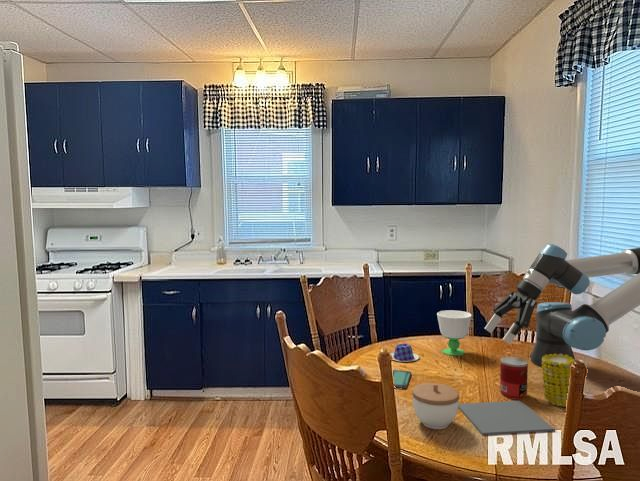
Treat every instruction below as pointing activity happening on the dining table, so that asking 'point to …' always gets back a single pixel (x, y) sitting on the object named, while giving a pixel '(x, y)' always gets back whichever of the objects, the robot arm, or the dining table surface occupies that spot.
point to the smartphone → (401, 378)
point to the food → (556, 377)
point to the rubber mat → (504, 418)
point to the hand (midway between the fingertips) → (496, 336)
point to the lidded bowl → (435, 404)
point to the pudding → (404, 353)
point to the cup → (454, 329)
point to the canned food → (513, 377)
